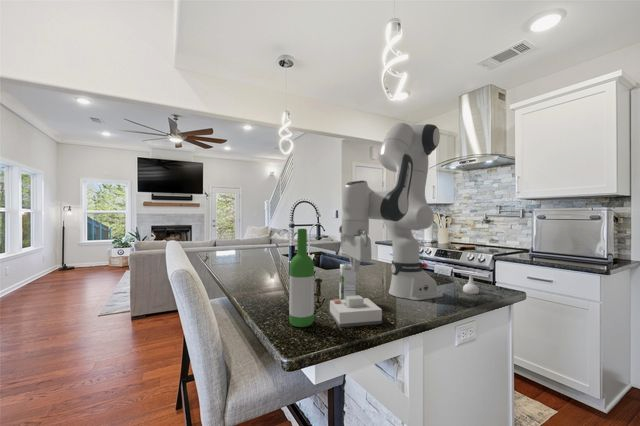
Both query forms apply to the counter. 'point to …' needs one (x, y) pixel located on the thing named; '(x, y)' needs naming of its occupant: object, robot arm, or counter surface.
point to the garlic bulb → (470, 287)
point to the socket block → (355, 313)
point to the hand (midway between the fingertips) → (354, 270)
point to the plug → (354, 301)
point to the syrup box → (347, 282)
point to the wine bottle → (301, 285)
